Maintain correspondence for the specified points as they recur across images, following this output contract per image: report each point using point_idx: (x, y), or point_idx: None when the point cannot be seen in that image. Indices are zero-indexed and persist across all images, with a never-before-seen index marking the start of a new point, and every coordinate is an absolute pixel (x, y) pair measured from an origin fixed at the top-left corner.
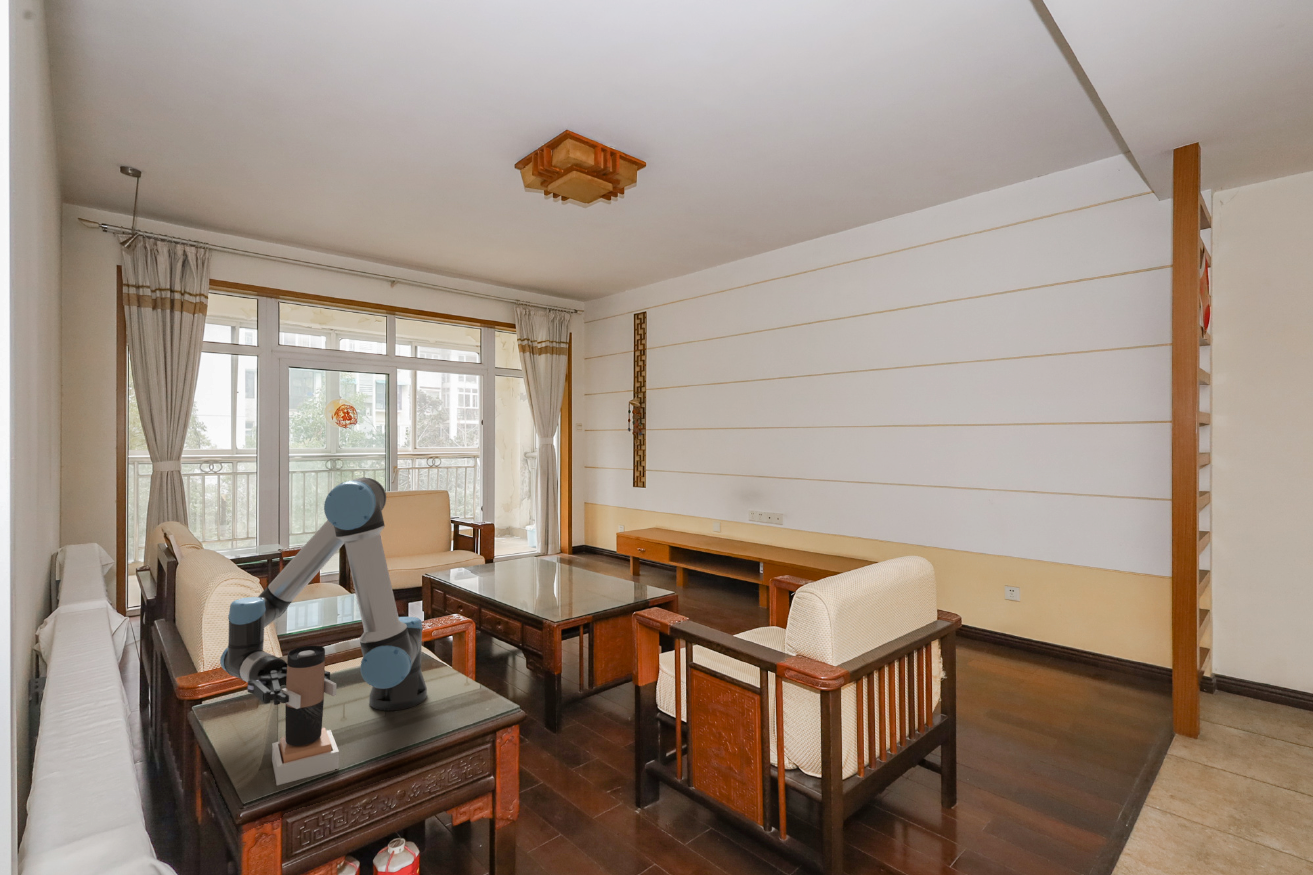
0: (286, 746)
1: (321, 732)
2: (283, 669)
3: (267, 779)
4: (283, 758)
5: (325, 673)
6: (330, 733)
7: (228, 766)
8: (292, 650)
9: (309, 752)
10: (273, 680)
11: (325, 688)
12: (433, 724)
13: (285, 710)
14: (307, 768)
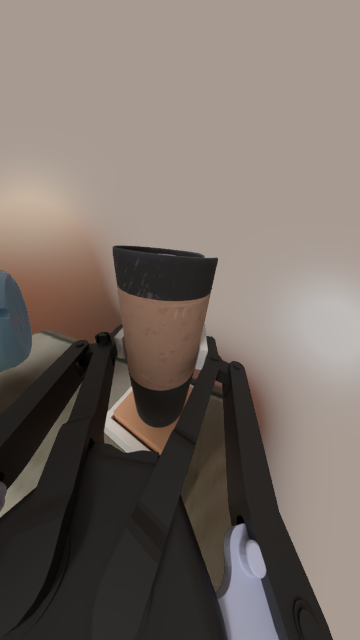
0: (182, 410)
1: (131, 400)
2: (56, 549)
3: (202, 428)
4: None
5: (86, 344)
6: (113, 408)
7: None
8: (183, 260)
9: None
10: (190, 437)
11: None
12: (44, 359)
13: (189, 383)
14: None
